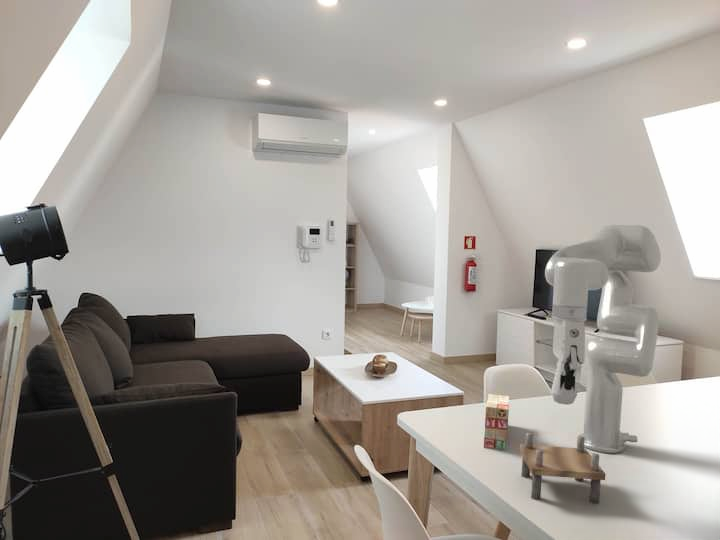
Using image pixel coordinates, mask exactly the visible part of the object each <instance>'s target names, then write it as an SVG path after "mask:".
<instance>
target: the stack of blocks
mask: <svg viewBox="0 0 720 540" xmlns="http://www.w3.org/2000/svg"><path fill="white" fill-rule="evenodd" d="M485 405H486V406H485V418H484V419H485V420H484V438H483V448H484V449H492V450H499V451H505V452H506V451H507V445H508V433H509V432H508V428H509V411H510V409H509V408H510V396H509V395H500V394H492V393H488V394H487V400H486V404H485Z"/></svg>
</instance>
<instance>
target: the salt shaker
mask: <svg viewBox="0 0 720 540" xmlns="http://www.w3.org/2000/svg"><path fill="white" fill-rule="evenodd" d="M566 362H570V360H567V361H566ZM567 366H569V365H566V367H567ZM560 375H562V361H560V360H559V361H558V365H557V369H556V368H555V374H554V377H553V382H552V386H551V390H550V392H551V396H552V398H553V402H556V403H557V404H561V405H572V404H574V402H575V400H576V399H577V397H578V396H577V395H578V391H577V383H576V382H577V381H576V379H575V389H573V387H572V389H571V390H566V389H565V388H564V383H563V385H562V388H561V390H560Z"/></svg>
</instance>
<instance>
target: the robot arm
mask: <svg viewBox="0 0 720 540" xmlns="http://www.w3.org/2000/svg"><path fill="white" fill-rule="evenodd" d="M661 258H662V255H661V249H660V247H659V243H658V242H657V239H656V236H655V234H654V233H653V232H652V231H651V229H650V228H648V227H647V226H645V225H640V224H639V225H637V224H636V225H635V224H634V225H633V224H609V225H604V226H602V227H601V228H599V229H598V230H597V231H596V232H595V234H593V235H592V237H590V238H589V240H586V241H582V242H579V243H576V244H572V245H569V246H565V247H563V248H560V249H559V250H557V251H556V252H555V253H554V254H552V256H551V257H550V258H549V260H548V261H547V263H546V264H545V265H546V266H545V269H544V277H545V281H546V282H547V284H549V285H550V286H552V287H553V291H552V292H553V293H552V294H553V295H552V308H551V310H552V311H551V318H552V319H554V325H553V326H554V327H553V328H554V329H553V337H552V338H553V339H552V353H553V355H554V356H555V358H556V363H555V364H556V365H555V367H556V368H555V370H556V369H557V365H558V361H559V360H560V361H562V375H560V390H561V388H562V385H563V383H564V388H565V389H566V390H571V389H572V387H573V389H575V380H576V376H577V375H576V374H577V373H576V371H577V370H578V363H579V364H580V365H583V364H584V363H585V362H586V390H585V391H586V392H585V394H586V395H585V405H584V422H583V423H584V424H583V433H580V434H579V435H578V436H582V437H584V438H585V439H584V448H585V449H589V450H592V451H595V452H598V453H607V454H618V453H621V452H623V451H625V449H626V448H625V443H627V442H629V443H638V436H637V435H633V434H630V433H629V432H622V431H621V419H622V405H623V404H622V403H623V385H622V383H621V380H620V379H619V377H618V376H617V374H622V375H626V376H627V375H628V376H633V377H640V378H642V377H643V378H644V377H647V376H649V375H650V374H651V372H652V370H653V366H654V360H655V355H656V354H655V353H656V348H657V347H656V346H657V340H658V333H659V323H660V322H659V321H660V320H659V314H658V312H657V310H656V309H655V308H654V307H653V306H649V305H644V304H636V303H635V304H634V303H633V299H634V293H635V288H634V286H633V284H632V282H631V281H630V279H629V277H627V276H626V274H625V273H624V272H634V273H635V272H636V273H637V272H638V273H652V272H655V271H657V269H658V268H659V266H660V263H661ZM623 271H624V272H623ZM600 289H601V295H600V298H599V299H600V301H599V305H598V306H599V307H598V310H597V317H596V326H597V329H598V330H599V331H600V332H602V333H604V334H608V335H614V336H621V337H629V338H634V339H636V340H637V341H632V340H627V339H622V338H621V339H620V338H614V337H606V336H596V337H592V338H591V339H589V340H588V341H587V342H586V330H585V329H586V328H585V322H586V321H587V313H588V312H587V311H588V300H589V299H588V297H589V295H588V294H589V291H598V290H600ZM567 360H570V362H566V361H567ZM566 365H569V366H567V367H566Z"/></svg>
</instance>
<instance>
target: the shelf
mask: <svg viewBox="0 0 720 540" xmlns="http://www.w3.org/2000/svg"><path fill="white" fill-rule="evenodd" d="M533 439H534V434H533V433H532V432H526V435H525V444H524V443H523V444H522V443H521V444H520V443H519V451H520V454H521V455H522V464H521V478H525V479H527V478H532V479H531V480H532V481H531V495H530V497H531V499H533V500H536V501H539V500H541V496H542V495H541V494H542V493H541V492H542V479H543V477H555V478H556V477H557V478H558V477H559V478H568V479H569V478H570V479H574V481H576V482H579V483H583V482H584V480H590V488H589V503H591V504H592V505H599V504H600V493H601V482H602V481H606V475H607V474H606V472H605V471H604V470H603V469H602V467H601V466H600V465H599V464H600V454H599V453H596V452H595V453H591V454H590V453H589V451H588V450H587V448H585V447H584V439H585V438H584V437H582V436H579V435H577V438H576V439H577V440H576V442H577V443H576V447H567V446H566V447H565V446H554V445H553V446H552V445H551V446H549V445H538V444H537V445H535V444H533ZM531 476H532V477H531Z"/></svg>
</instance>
